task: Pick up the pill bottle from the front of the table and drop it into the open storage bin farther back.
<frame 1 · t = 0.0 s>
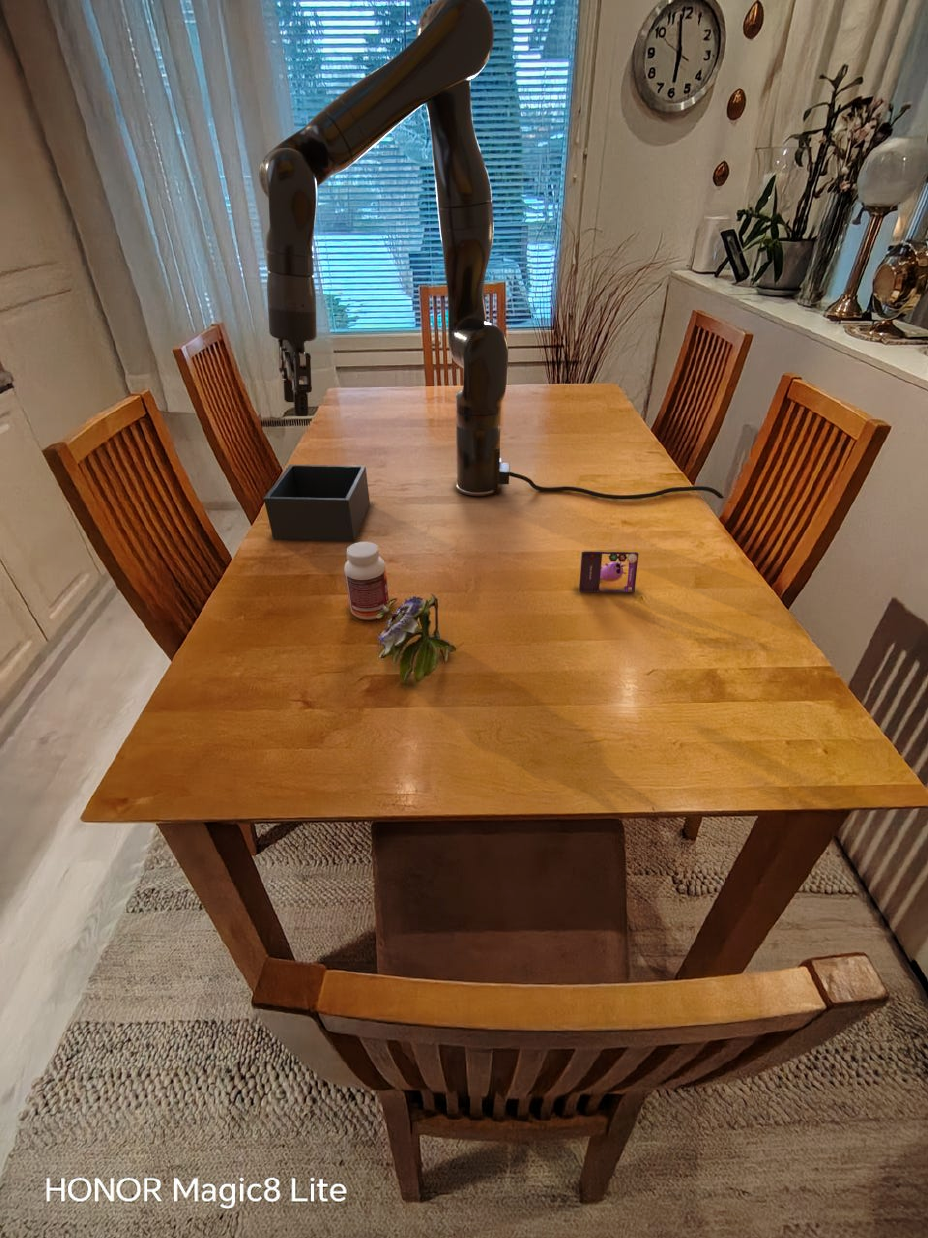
hand: (295, 408, 104), 22 cm above the table, tool pointing down, fingers open, 8 cm apart
game card: (604, 586, 99), on the table
open storage bin: (324, 521, 117), on the table
passion flower: (417, 657, 84), on the table
pill bottle: (370, 610, 94), on the table
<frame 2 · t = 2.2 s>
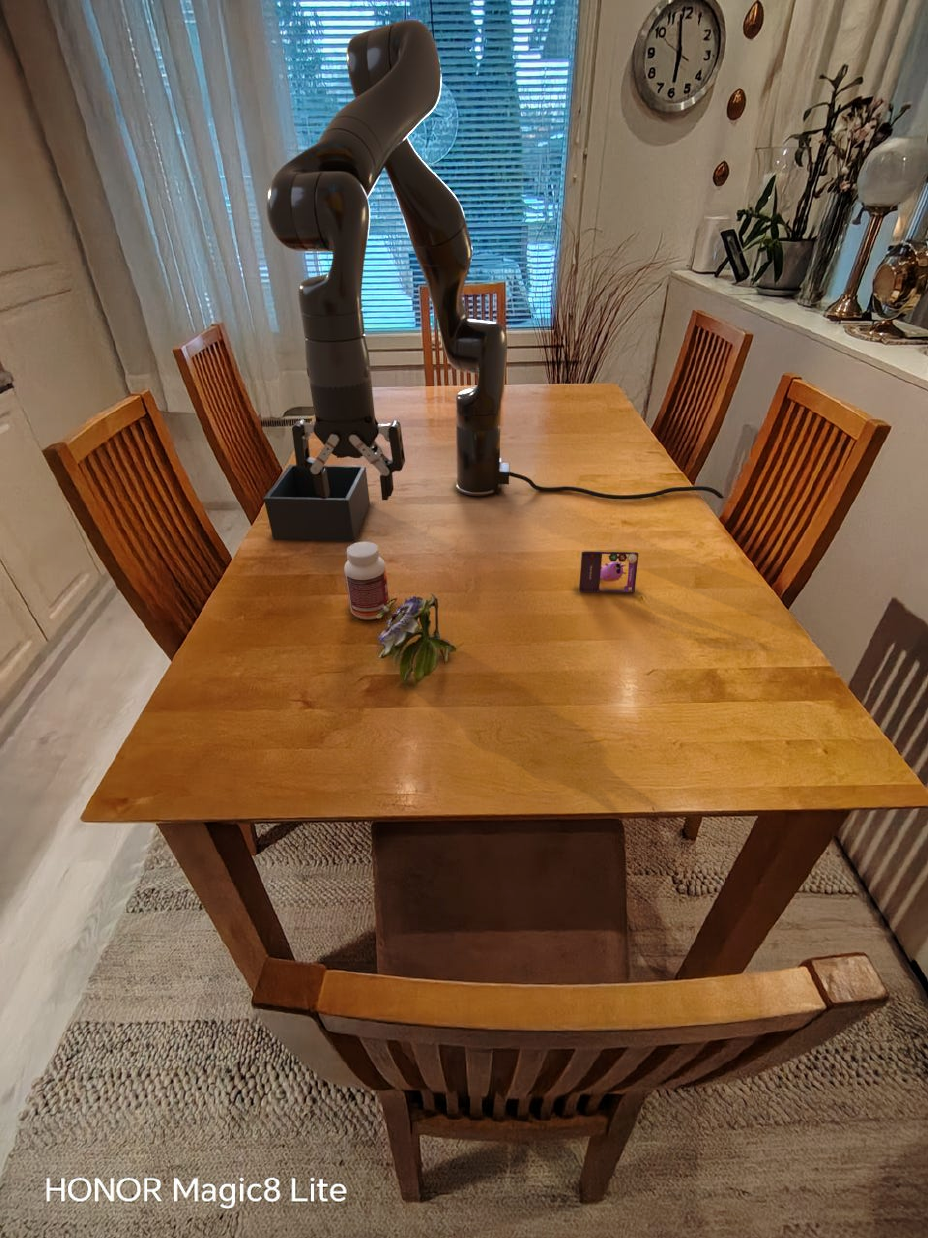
hand: (355, 497, 82), 19 cm above the table, tool pointing down, fingers open, 8 cm apart
nothing on the table moved.
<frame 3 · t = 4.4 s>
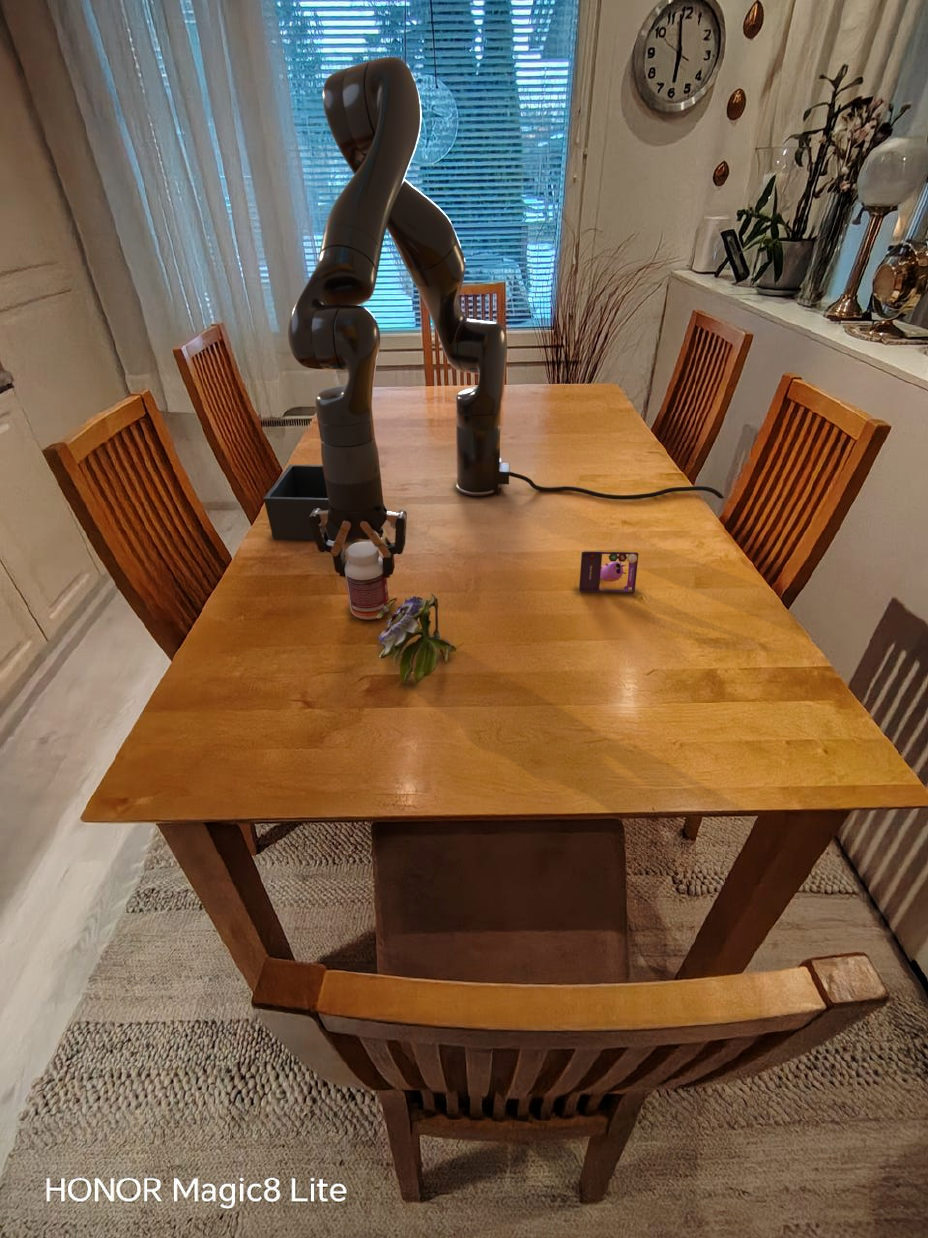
hand: (365, 574, 89), 7 cm above the table, tool pointing down, fingers closed on pill bottle, 6 cm apart
pill bottle: (370, 610, 94), on the table, touching gripper
everything else where it was.
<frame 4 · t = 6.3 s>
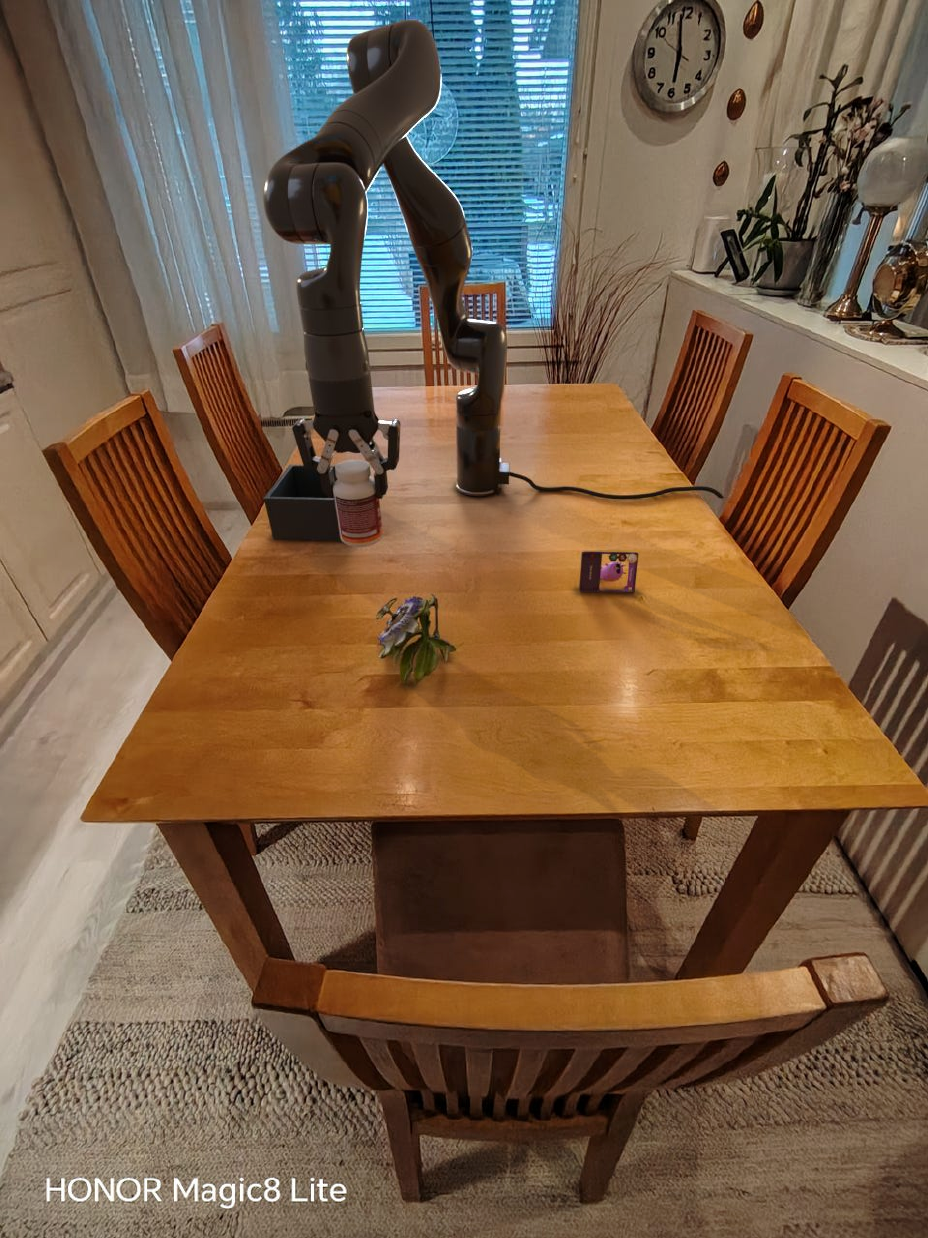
hand: (356, 495, 82), 20 cm above the table, tool pointing down, fingers closed on pill bottle, 6 cm apart
pill bottle: (362, 539, 86), point 13 cm above the table, touching gripper
everything else where it was.
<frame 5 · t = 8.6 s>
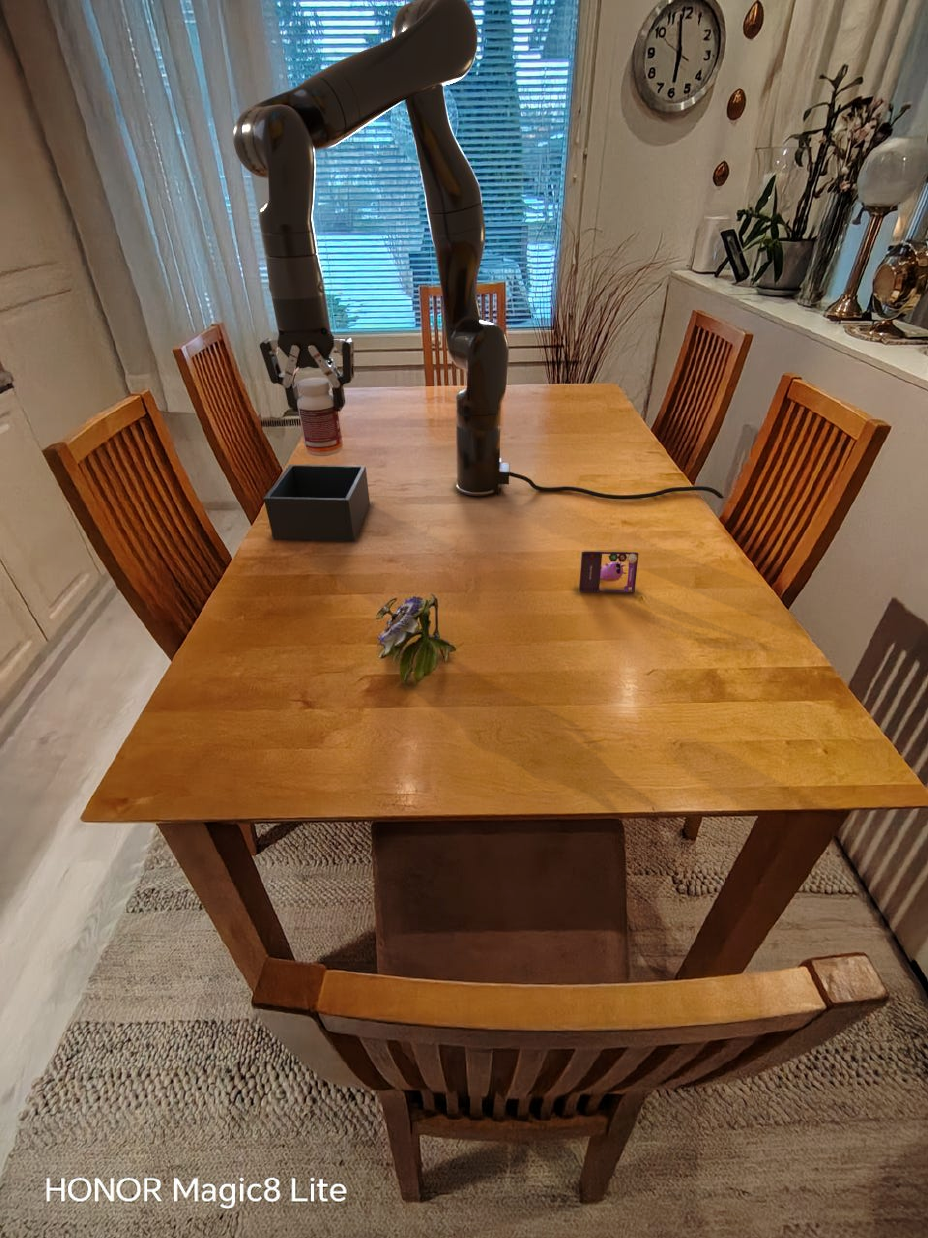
hand: (317, 409, 94), 25 cm above the table, tool pointing down, fingers closed on pill bottle, 6 cm apart
pill bottle: (324, 451, 98), point 18 cm above the table, touching gripper
everything else where it was.
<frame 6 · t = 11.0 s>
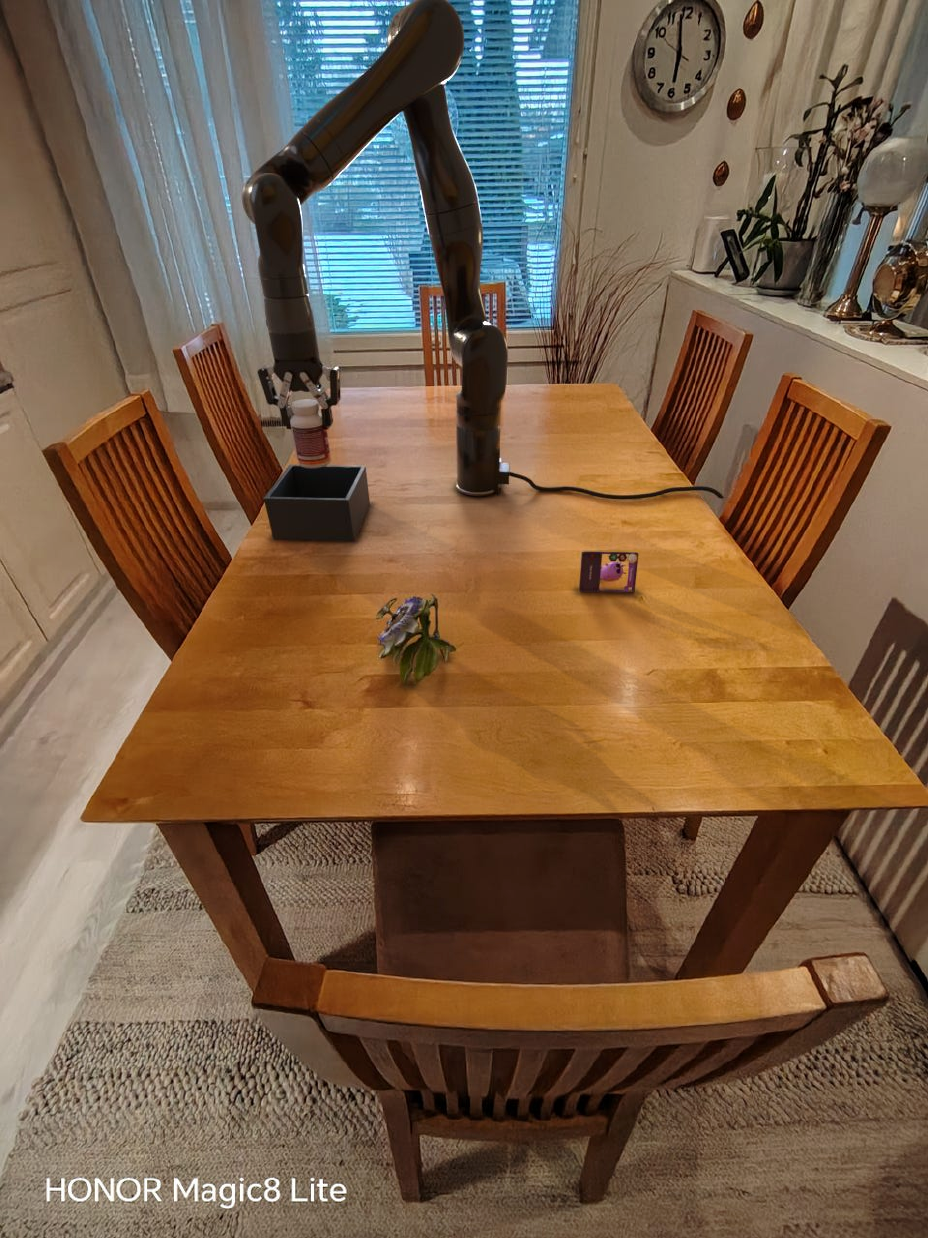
hand: (308, 427, 106), 19 cm above the table, tool pointing down, fingers closed on pill bottle, 6 cm apart
pill bottle: (314, 463, 110), point 12 cm above the table, touching gripper
everything else where it was.
when the fingers open (14 cm above the table, at t = 13.1 s): pill bottle drops 5 cm, resting on open storage bin.
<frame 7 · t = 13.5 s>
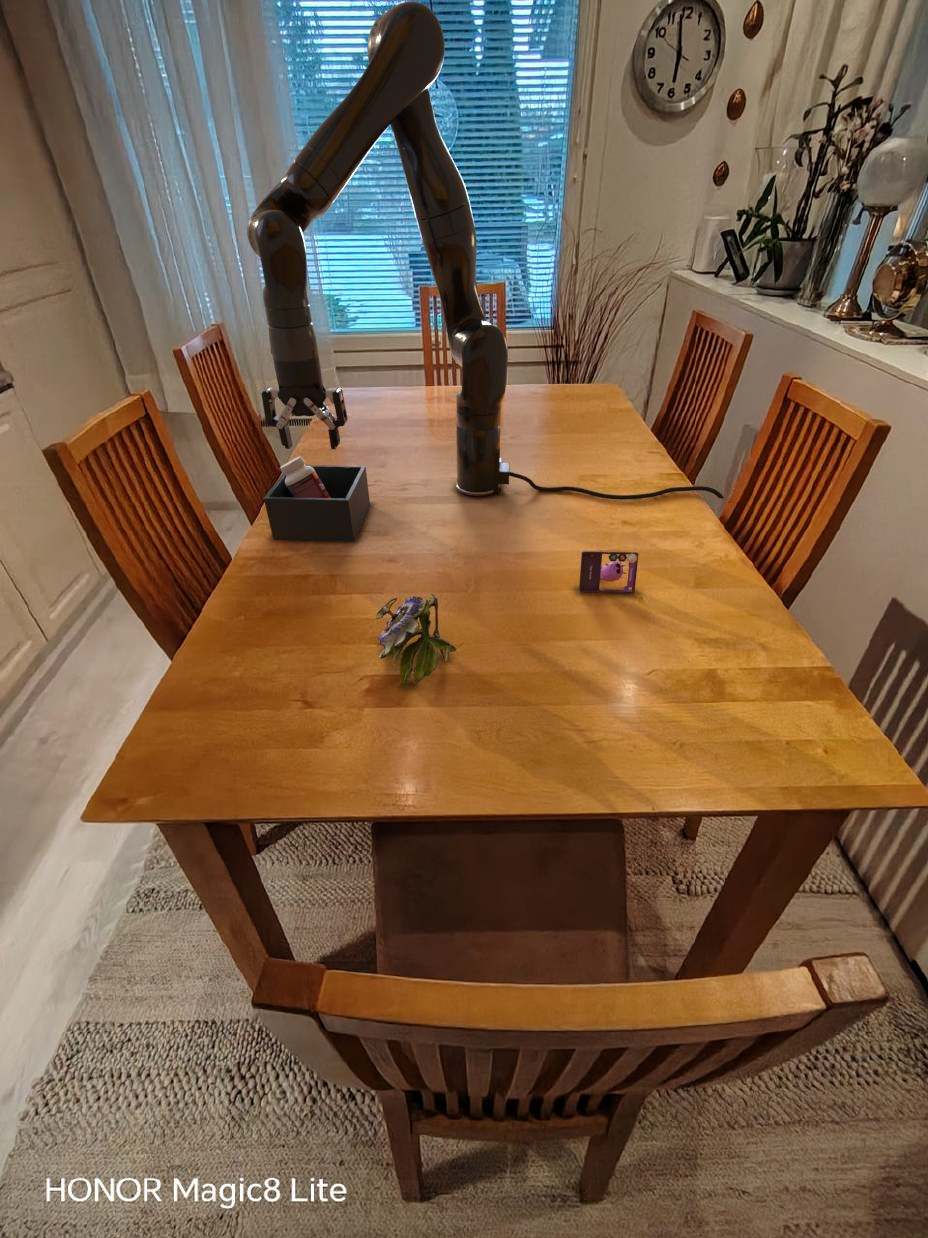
hand: (311, 447, 108), 15 cm above the table, tool pointing down, fingers open, 8 cm apart
pill bottle: (322, 513, 116), point 2 cm above the table, touching open storage bin
everything else where it was.
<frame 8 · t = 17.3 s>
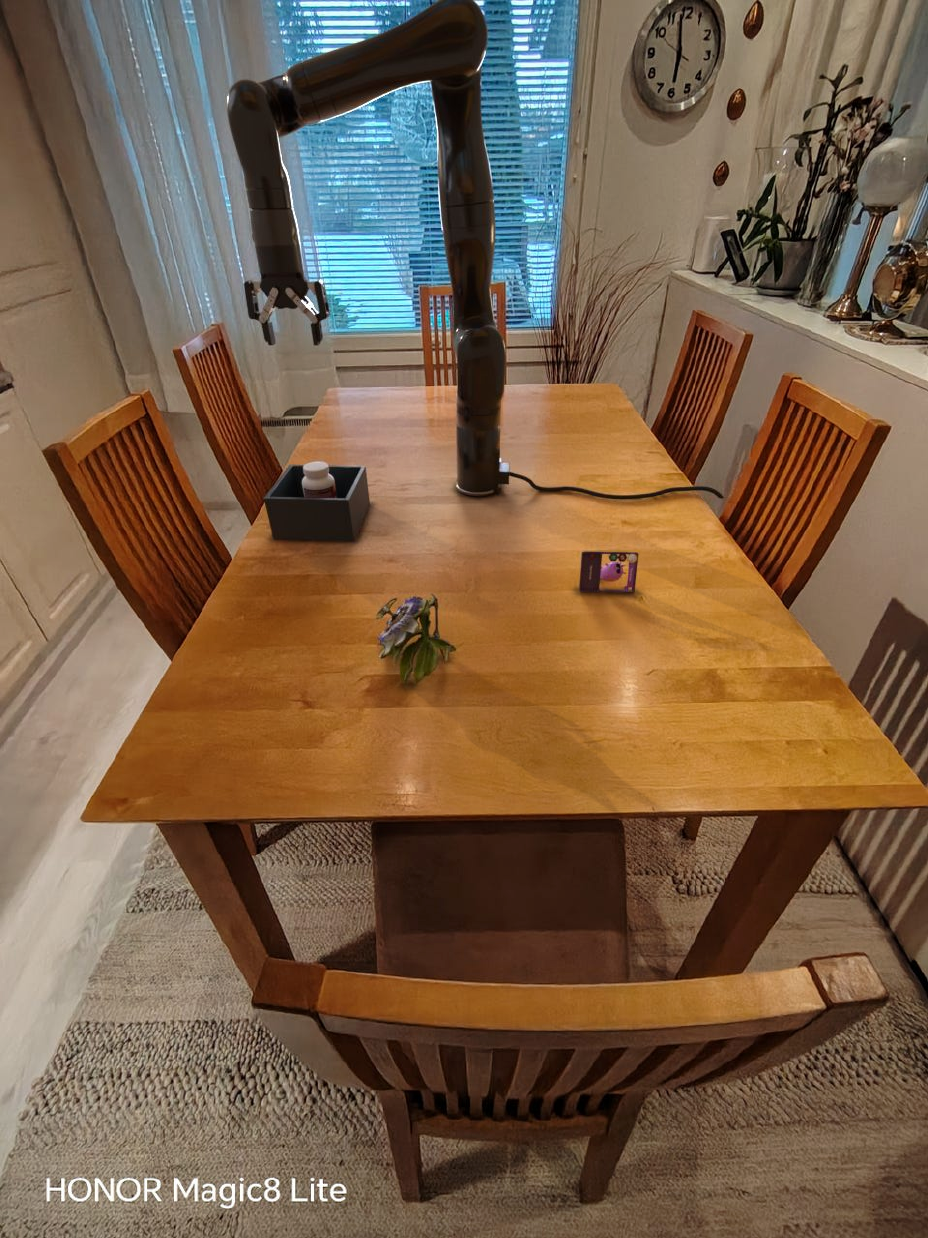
hand: (294, 344, 109), 30 cm above the table, tool pointing down, fingers open, 8 cm apart
pill bottle: (324, 519, 117), resting on open storage bin
everything else where it was.
at the end: pill bottle inside the target area in the open storage bin (0.2 cm from its centre), point 0.3 cm above the open storage bin's base; the gripper is holding nothing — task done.
